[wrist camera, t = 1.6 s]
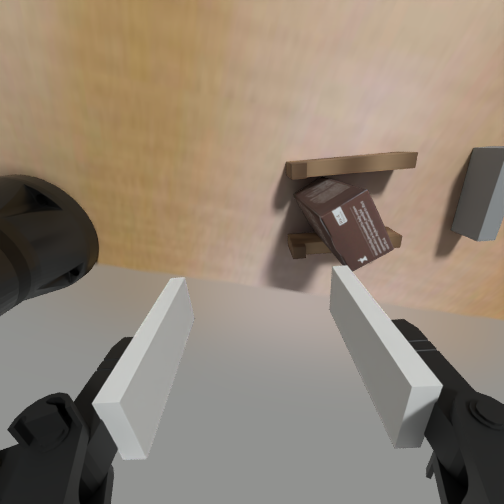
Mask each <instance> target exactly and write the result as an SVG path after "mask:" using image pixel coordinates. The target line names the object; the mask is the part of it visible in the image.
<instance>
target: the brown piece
mask: <svg viewBox="0 0 504 504" xmlns="http://www.w3.org/2000/svg"><path fill="white" fill-rule="evenodd" d="M417 155H418V152H390V153H379V154H368V155H356V156H345V157H334V158H323V159H311V160H300V161H289V162H286V173H287V176H288V177H290V178H291V179H292V180H294V179H306V178H307V177H314V176H326V175H338V174H349V173H361V172H373V171H384V170H396V169H408V168H415V166H416V161H417ZM385 228H386V231H387V233H388V235H389V238H390V240H391V243H392V245H393V247H394V248H400V245H401V240H402V235H400V234H398V233H397V232H395V231H393V230H392V229H390V228H388V227H385ZM288 246H289V249H290V251H291V254H292V257H293V259H300V258H306V254H318V253H332V252H331V250H330V249H329V248H328V247H327V246H326V245H325V243H324V242H323V241H322V240H321V239H320V238H319V236H318V235H317V234H316V233H315V232H311V233H298V234H288Z"/></svg>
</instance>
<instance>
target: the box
mask: <svg viewBox="0 0 504 504" xmlns="http://www.w3.org/2000/svg"><path fill="white" fill-rule="evenodd" d="M294 197H295V199H296V201H297V203H298V205H299V206H300V208H301V210H302V212H303V213H304V215H305V217H306V219H307V220H308V222H309V224H310V226H311V227H312V229H313V231H314V232H315V233H316V234H317V235H318V236H319V238H320V239H321V240H322V241H323V242H324V243H325V245H326V246H327V247H328V248H329V249H330V250H331V252H332V253H333V254H334V255H335V256H336V258H337V259H338V260H339V261H340V262H341V264H342V265H343V266H346V265H347V266H348V267H349V268H350V270H351V271H352V272H353V271H354V270H356V269H358V268H360V267H362V266H364V265H366V264H367V263H369V262H371V261H373V260H375V259H377V258H379V257H381V256H383V255H385V254H387V253H388V252H390V251H392V250H393V249H394V247H393V245H392V243H391V240H390V238H389V235H388V233H387V231H386V228H385V226H384V224H383V222H382V220H381V218H380V215H379V213H378V211H377V209H376V206H375V204H374V202H373V200H372V198H371V196H370V193H369V191H368V190H367V189H363V188H359V187H356V186H353V185H349V184H346V183H342V182H339V181H336V180H333V179H330V178H326V177H323V176H322V177H320V178H318V179H317V180H315V181H314V182H312V183H311V184H309V185H308V186H306V187H304V188H303V189H301V190H300V191H298V192H296V193H295V194H294Z"/></svg>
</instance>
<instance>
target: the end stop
mask: <svg viewBox="0 0 504 504" xmlns="http://www.w3.org/2000/svg"><path fill="white" fill-rule="evenodd" d="M503 217H504V146H490V147H478V148H473V152H472V156H471V159H470V163H469V167H468V170H467V174H466V177H465V181H464V185H463V188H462V192H461V196H460V199H459V203H458V206H457V210H456V214H455V217H454V221H453V225H452V228H451V231H454V232H456V233H459V234H461V235H463V236H466V237H468V238H470V239H473V240H475V241H489V240H495V239H496V236H497V233H498V231H499V228H500V225H501V222H502V220H503Z"/></svg>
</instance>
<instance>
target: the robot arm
mask: <svg viewBox="0 0 504 504" xmlns="http://www.w3.org/2000/svg"><path fill="white" fill-rule="evenodd" d="M97 255H98V240H97V235H96V232H95V229H94V227H93V224H92V222H91V221H90V219H89V217H88V216H87V214H86V213H85V211H84V210H83V209H82V208H81V206H80V205H79V204H78V203H77V202H76V201H75V200H74V199H73V198H72V197H70V196H69V195H68V194H67V193H65V192H64V191H63V190H61V189H60V188H58V187H56V186H55V185H53V184H51V183H49V182H46V181H44V180H41V179H38V178H35V177H31V176H26V175H8V176H0V316H1V315H3V314H4V313H6V312H7V311H9V310H10V309H12V308H13V307H14V306H16V305H18V304H19V303H21V302H22V301H24V300H27V299H30V298H34V297H37V296H40V295H43V294H46V293H49V292H53V291H56V290H59V289H62V288H65V287H68V286H70V285H72V284H73V283H75V282H76V281H78V280H79V279H80V278H82V277H83V276H84V275H86V274H87V273H88V272H89V271H90V270H91V269H92V267H93V266H94V264H95V262H96V259H97ZM330 312H331V314H332V316H333V318H334V320H335V323H336V325H337V327H338V329H339V331H340V333H341V335H342V338H343V340H344V342H345V344H346V346H347V348H348V350H349V352H350V355H351V357H352V359H353V361H354V363H355V365H356V367H357V369H358V372H359V374H360V376H361V378H362V380H363V382H364V384H365V387H366V389H367V391H368V393H369V395H370V397H371V399H372V401H373V404H374V406H375V408H376V410H377V412H378V414H379V416H380V418H381V421H382V423H383V425H384V427H385V429H386V431H387V433H388V435H389V437H390V440H391V442H392V444H393V446H394V448H415V447H421V444H422V442H423V439H424V436H425V437H426V438H427V440H428V442H429V443H430V445H431V447H432V449H433V450H434V451H433V453H432V456H431V458H430V461H429V463H428V466H427V468H426V477H427V478H430V479H431V477H432V475H433V473H435V478H436V482H437V487H438V491H439V496H440V500H441V504H504V404H502V403H500V402H499V401H497V400H495V399H494V398H492V397H490V396H487V395H484V394H481V393H479V392H476V391H475V390H474V389H473V388H472V387H471V386H470V385H469V384H468V383H467V382H466V380H465V379H464V378H463V377H462V376H461V375H460V374H459V373H458V372H457V371H456V370H455V368H454V367H453V366H452V365H451V364H450V363H449V362H448V361H447V360H446V359H445V358H444V356H443V355H442V354H441V353H440V352H439V351H437V350H436V348H435V346H433V344H432V343H431V342H430V341H428V339H427V338H426V337H425V336H424V335H423V333H422V332H421V331H420V330H419V329H418V328H417V327H415V326H414V325H412V324H411V323H409V322H407V321H406V320H405V319H398V320H390V318H389V317H388V316H387V315H386V313H385V312H384V311H383V310H382V308H381V307H380V306H379V305H378V303H377V302H376V301H375V300H374V298H373V297H372V296H371V295H370V293H369V292H368V291H367V290H366V288H365V287H364V286H363V285H362V283H361V282H360V281H359V280H358V278H357V277H356V276H355V275H354V273H353V272H352V271H351V270H350V268H349V267H348V266H347V265H346V266H332V277H331V294H330ZM194 319H195V318H194V314H193V310H192V305H191V301H190V296H189V292H188V288H187V283H186V279H185V277H180V278H171V279H170V280H169V282H168V283H167V285H166V286H165V288H164V290H163V291H162V293H161V294H160V296H159V298H158V299H157V301H156V302H155V304H154V306H153V307H152V309H151V311H150V312H149V314H148V315H147V317H146V318H145V320H144V322H143V323H142V325H141V326H140V328H139V330H138V331H137V333H136V334H135V336H134V337H124V338H123V339H121V340H120V341H119V342H118V343H117V344H116V345H114V346H113V347H112V348H111V350H110V351H109V353H108V354H107V355H106V357H105V358H104V361H103V362H102V363H101V364H100V365H99V367H98V368H97V371H95V373H94V374H93V375H92V377H91V378H90V380H89V381H88V383H87V384H86V385H85V387H84V388H83V390H82V391H81V393H80V394H79V395H78V397H77V398H76V399H75V401H74V402H73V401H72V399H71V398H70V396H69V395H68V394H65V393H55V394H51V395H48V396H46V397H44V398H42V399H39V400H37V401H36V402H34V403H33V404H32V405H30V406H29V407H27V408H26V409H25V410H24V411H23V412H22V413H21V414H19V415H18V416H17V417H16V418H15V419H14V421H13V422H12V424H11V425H10V427H9V428H8V431H9V432H10V433H11V435H12V436H13V437H14V438H15V439H16V440H17V442H18V443H19V444H17V445H14V446H12V447H9V448H6V449H3V450H0V504H111V496H112V487H113V479H114V472H113V467H112V465H111V463H112V461H113V458H114V456H115V454H116V452H117V450H118V451H119V453H120V455H121V457H122V459H123V460H132V459H147V457H148V454H149V451H150V448H151V445H152V442H153V439H154V436H155V434H156V430H157V428H158V425H159V422H160V419H161V416H162V413H163V410H164V407H165V404H166V401H167V398H168V395H169V392H170V390H171V387H172V384H173V381H174V378H175V375H176V372H177V369H178V366H179V363H180V360H181V357H182V354H183V351H184V348H185V345H186V342H187V340H188V337H189V334H190V331H191V328H192V325H193V322H194Z"/></svg>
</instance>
